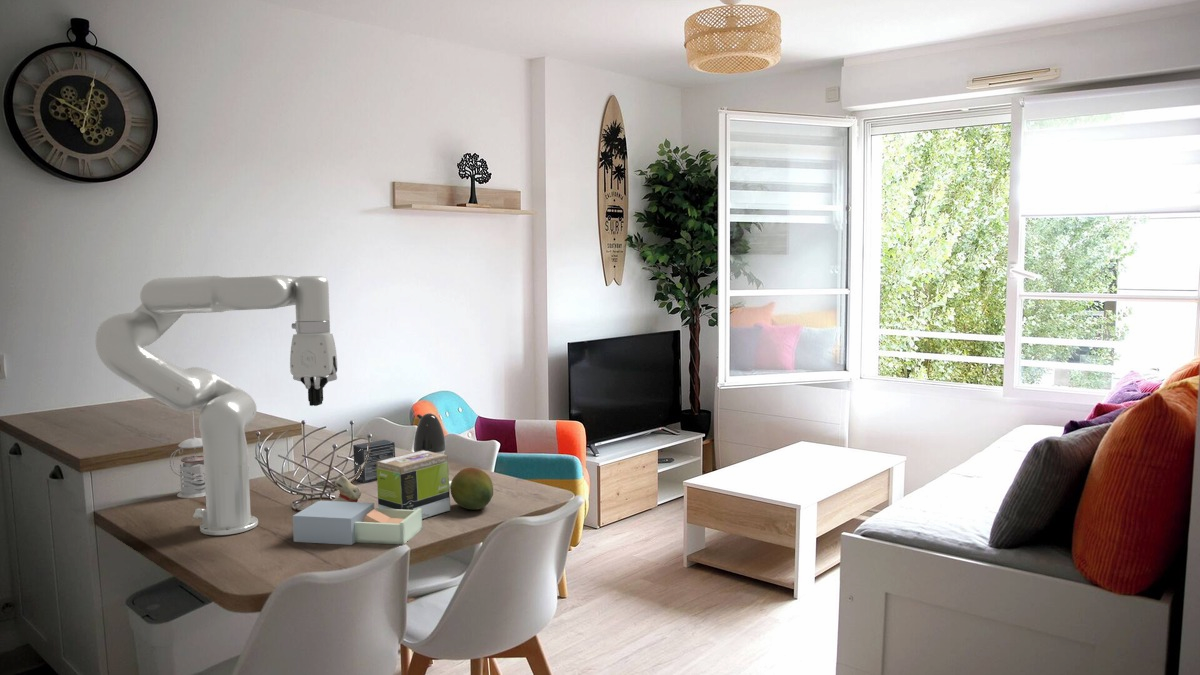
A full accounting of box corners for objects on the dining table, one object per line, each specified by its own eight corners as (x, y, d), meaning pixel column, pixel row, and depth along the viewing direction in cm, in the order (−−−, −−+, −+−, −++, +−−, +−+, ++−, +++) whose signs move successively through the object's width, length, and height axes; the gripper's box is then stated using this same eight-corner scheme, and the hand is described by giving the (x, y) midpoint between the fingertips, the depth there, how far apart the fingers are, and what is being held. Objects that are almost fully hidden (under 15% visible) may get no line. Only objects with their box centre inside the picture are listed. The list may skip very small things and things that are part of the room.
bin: (355, 542, 183) (354, 520, 182) (376, 526, 194) (375, 506, 193) (403, 544, 181) (403, 522, 181) (422, 528, 192) (421, 508, 191)
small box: (386, 472, 244) (385, 438, 243) (397, 477, 240) (396, 442, 239) (353, 479, 237) (352, 444, 236) (363, 483, 232) (362, 447, 231)
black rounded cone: (430, 455, 267) (429, 409, 266) (452, 459, 261) (451, 412, 260) (406, 461, 259) (405, 414, 257) (429, 465, 253) (428, 417, 251)
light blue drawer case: (293, 541, 183) (292, 515, 183) (320, 524, 195) (319, 500, 195) (351, 544, 181) (351, 518, 181) (374, 527, 193) (374, 503, 192)
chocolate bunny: (350, 518, 200) (349, 479, 199) (323, 516, 202) (321, 476, 201) (363, 512, 205) (362, 473, 204) (336, 509, 208) (335, 471, 207)
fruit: (478, 498, 217) (477, 461, 216) (507, 508, 208) (507, 469, 207) (441, 507, 209) (440, 469, 208) (470, 518, 200) (469, 478, 199)
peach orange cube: (401, 525, 182) (401, 540, 182) (409, 518, 186) (409, 533, 187) (382, 524, 183) (383, 539, 183) (390, 518, 187) (391, 532, 187)
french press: (205, 497, 218) (201, 406, 216) (163, 497, 219) (158, 406, 217) (223, 488, 228) (219, 400, 226) (182, 487, 229) (178, 400, 226)
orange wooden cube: (360, 528, 185) (366, 515, 184) (368, 522, 189) (373, 509, 189) (377, 537, 184) (383, 523, 184) (384, 530, 189) (390, 517, 188)
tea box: (425, 504, 212) (424, 448, 211) (451, 511, 206) (449, 454, 204) (377, 518, 200) (375, 459, 199) (402, 526, 194) (400, 465, 193)
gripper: (275, 329, 190) (278, 406, 191) (335, 329, 187) (337, 408, 189) (292, 326, 197) (295, 401, 199) (350, 327, 195) (352, 403, 196)
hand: (315, 404), depth 194 cm, fingers closed
